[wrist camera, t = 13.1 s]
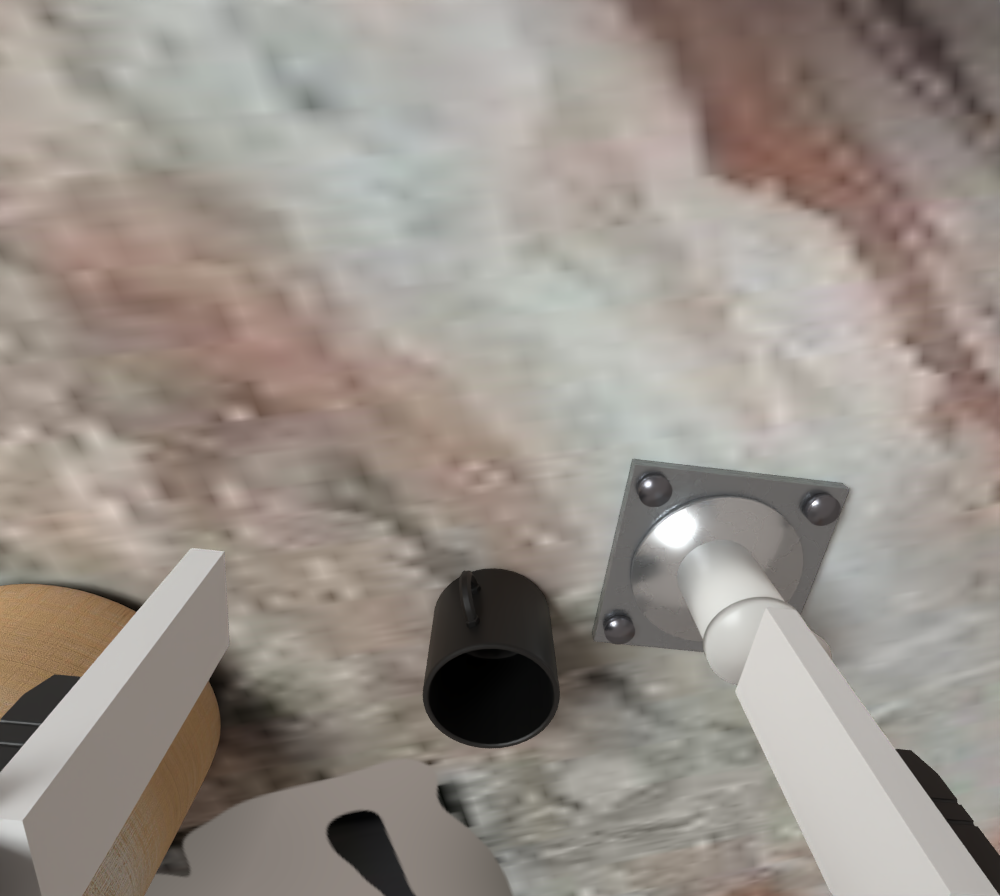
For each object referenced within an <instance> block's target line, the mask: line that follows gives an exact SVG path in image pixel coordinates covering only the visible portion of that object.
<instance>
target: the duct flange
mask: <svg viewBox="0 0 1000 896" xmlns="http://www.w3.org/2000/svg"><path fill="white" fill-rule="evenodd" d="M848 492H849V488H848V487H846V486H845V485H844V484H843V483H837V482H828V481H819V480H811V479H802V478H793V477H785V476H776V475H767V474H759V473H750V472H741V471H733V470H724V469H716V468H707V467H698V466H690V465H681V464H672V463H664V462H655V461H646V460H638V459H632V463H631V467H630V472H629V476H628V480H627V485H626V489H625V493H624V498H623V502H622V506H621V511H620V515H619V519H618V523H617V528H616V532H615V536H614V541H613V545H612V549H611V554H610V558H609V562H608V567H607V571H606V575H605V579H604V584H603V588H602V592H601V597H600V601H599V605H598V610H597V614H596V618H595V623H594V627H593V631H592V635H593V640H594V641H597V642H607V643H613V644H627V645H638V646H648V647H658V648H668V649H678V650H688V651H698V652H704V650H703V639H702V637H701V634H700V632H699V630H698V628H697V626H696V623H695V621H694V619H693V617H692V615H691V613H690V610H689V608H688V606H687V604H686V602H685V600H684V597H683V595H682V593H681V591H680V589H679V587H678V583H677V573H678V569H679V566H680V564H681V562H682V560H683V559H684V558H685V556H686V555H687V554H688V553H689V552H691V551H692V550H693V549H695V548H696V547H698V546H700V545H702V544H704V543H707V542H710V541H716V540H728V541H733V542H736V543H739V544H741V545H742V546H744V547H745V548H747V549H748V550H749V551H750V553H751V554H752V555H753V557H754V558H755V560H756V561H757V562H758V564H759V565H760V567H761V568H762V570H763V571H764V572H765V574H766V575H767V577H768V578H769V580H770V581H771V582H772V584H773V585H774V587H775V588H776V590H777V591H778V592H779V594H780V595H781V597H782V598H783V599H784V601H785V602H787V603H788V604H790V605H791V606H792V607H794V608H795V609H796V610H797V611H798V613H799V614H800V615H801V612H802V609H803V607H804V604H805V602H806V599H807V597H808V594H809V592H810V589H811V586H812V584H813V581H814V579H815V576H816V574H817V571H818V569H819V566H820V563H821V561H822V558H823V556H824V553H825V551H826V548H827V546H828V543H829V540H830V538H831V535H832V533H833V530H834V528H835V525H836V523H837V520H838V518H839V515H840V512H841V510H842V507H843V505H844V502H845V500H846V497H847V495H848Z"/></svg>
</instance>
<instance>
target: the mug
mask: <svg viewBox="0 0 1000 896" xmlns="http://www.w3.org/2000/svg"><path fill="white" fill-rule="evenodd" d="M559 699H560V691H559V683H558V675H557V667H556V659H555V651H554V643H553V636H552V628H551V620H550V612H549V607H548V604H547V601H546V599H545V597H544V596H543V594H542V592H541V591H540V590H539V589H538V588H537V587H536V586H535V585H534V584H533V583H532V582H531V581H529V580H528V579H526V578H525V577H523V576H521V575H519V574H517V573H514V572H511V571H507V570H502V569H482V570H476V571H473V572H471V571H463V572H462V574H461V576H460V577H459V578H458V579H456V580H455V581H453V582H452V583H451V584H450V585H449V586H448V587H447V588H446V589H445V590H444V591H443V592H442V594H441V595H440V597H439V599H438V601H437V603H436V607H435V611H434V618H433V625H432V632H431V639H430V645H429V652H428V659H427V666H426V673H425V680H424V687H423V702H424V706H425V710H426V713H427V714H428V716H429V718H430V720H431V721H432V722H433V724H434V725H435V726H436V727H437V728H438V729H439V730H440V731H441V732H442V733H444V734H445V735H447V736H448V737H450V738H451V739H453V740H455V741H458V742H460V743H463V744H466V745H469V746H474V747H479V748H503V747H509V746H513V745H517V744H520V743H522V742H525V741H527V740H529V739H531V738H533V737H534V736H536V735H537V734H539V733H540V732H541V731H542V730H544V729H545V727H546V726H547V725H548V724H549V723H550V722H551V720H552V719H553V717H554V715H555V713H556V711H557V708H558V704H559Z"/></svg>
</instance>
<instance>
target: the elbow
mask: <svg viewBox="0 0 1000 896" xmlns="http://www.w3.org/2000/svg"><path fill="white" fill-rule="evenodd" d="M677 583H678V587H679V589H680V591H681V593H682V595H683V597H684V600H685V602H686V604H687V606H688V608H689V610H690V613H691V615H692V617H693V619H694V621H695V623H696V626H697V628H698V630H699V632H700V634H701V637H702V639H703V650H704V654H705V656H706V658H707V661H708V663H709V665H710V667H711V669H712V670H713V671H714V672H715V674H716V675H718V676H719V677H720V678H721V679H723V680H725V681H727V682H729V683H732V684H736V685H738V683H739V680H740V677H741V674H742V672H743V669H744V666H745V663H746V661H747V658H748V655H749V652H750V650H751V647H752V644H753V641H754V639H755V636H756V633H757V630H758V628H759V625H760V622H761V619H762V617H763V614H764V611H765V608H766V607H769V608H779V609H789V610H796V609H795V608H794V607H792V606H791V605H790V604H788V603H787V602H785V601H784V599H783V598H782V597H781V595H780V594H779V592H778V591H777V590H776V588H775V587H774V585H773V584H772V582H771V581H770V580H769V578H768V577H767V575H766V574H765V572H764V571H763V570H762V568H761V567H760V565H759V564H758V562H757V561H756V560H755V558H754V557H753V555H752V554H751V553H750V551H749V550H748V549H747V548H745V547H744V546H742V545H741V544H739V543H736V542H733V541H728V540H716V541H710V542H707V543H704V544H702V545H700V546H698V547H696V548H695V549H693V550H692V551H691V552H689V553H688V554H687V555H686V556H685V558H684V559H683V560H682V562H681V564H680V566H679V569H678V573H677ZM796 611H797V610H796ZM797 612H798V611H797ZM798 614H799V613H798ZM799 615H800V614H799ZM800 617H801V615H800ZM801 618H802V617H801ZM802 619H803V618H802ZM803 621H804V620H803ZM804 622H805V621H804ZM805 624H806V623H805ZM806 625H807V624H806ZM810 631H811V630H810ZM811 632H812V633H813V635H814V636H815V638H816V639H817V640H818V642H819V643H820V645H821V646H822V647H823V649H824V650H825V652H826V653H827V654H828V656H829V657H830V659H831V660H832V654H831V650H830V647H829V645H828V644H827V642H826V641H825V640H824V639H822V638H821V637H820V636H818V635H817V634H816V633H814V632H813V631H811Z"/></svg>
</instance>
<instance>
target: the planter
mask: <svg viewBox="0 0 1000 896" xmlns="http://www.w3.org/2000/svg"><path fill="white" fill-rule="evenodd" d="M135 613H136V611H134V610H132V609H130V608H128V607H126V606H124V605H121V604H119V603H117V602H114V601H112V600H109V599H106V598H103V597H101V596H98V595H95V594H91V593H88V592H85V591H81V590H76V589H72V588H66V587H60V586H52V585H42V584H13V585H4V586H0V720H1V718H2V717H3V716H4V715H5V713H6V712H7V711H8V710H9V709H10V708H11V707H12V706H13V705H14V704H15V703H16V702H17V701H18V700H19V698H20V697H21V696H22V695H23V694H25V693H26V692H28V691H29V690H31V689H32V688H34V687H36V686H37V685H39V684H40V683H42V682H43V681H45V680H46V679H48V678H49V677H51V676H53V675H54V674H57V675H68V676H79V677H82V676H83V675H84V673H85V672H86V671H87V670H88V669H89V668H90V666H91V665H92V664H93V663H94V662H95V660H96V659H97V658H98V657H99V656H100V655H101V653H102V652H103V651H104V650H105V649H106V648H107V646H108V645H109V644H110V643H111V642H112V640H113V639H114V638H115V637H116V636H117V635H118V633H119V632H120V631H121V630H122V629H123V628H124V626H125V625H126V624H127V623H128V622H129V620H130V619H131V618H132V617H133V616H134V615H135ZM220 728H221V725H220V713H219V707H218V703H217V700H216V697H215V694H214V691H213V689H212V687H211V685H210V683H209V681H208V682H207V684H206V685H205V687H204V689H203V691H202V692H201V694H200V696H199V697H198V699H197V701H196V703H195V704H194V706H193V708H192V709H191V711H190V713H189V715H188V716H187V718H186V720H185V721H184V723H183V725H182V726H181V728H180V730H179V732H178V733H177V735H176V737H175V738H174V740H173V742H172V744H171V745H170V747H169V749H168V750H167V752H166V754H165V756H164V757H163V759H162V761H161V762H160V764H159V766H158V767H157V769H156V771H155V773H154V774H153V776H152V778H151V779H150V781H149V783H148V785H147V786H146V788H145V790H144V791H143V793H142V795H141V796H140V798H139V800H138V802H137V803H136V805H135V807H134V808H133V810H132V812H131V814H130V815H129V817H128V819H127V820H126V822H125V824H124V826H123V827H122V829H121V831H120V832H119V834H118V836H117V837H116V839H115V841H114V843H113V844H112V846H111V848H110V849H109V851H108V853H107V855H106V856H105V858H104V860H103V861H102V863H101V865H100V866H99V868H98V870H97V872H96V873H95V875H94V877H93V878H92V880H91V882H90V884H89V885H88V887H87V889H86V890H85V892H84V894H83V896H144V895H145V893H146V891H147V889H148V887H149V886H150V884H151V882H152V880H153V878H154V876H155V874H156V872H157V870H158V868H159V866H160V864H161V862H162V860H163V859H164V857H165V855H166V853H167V851H168V849H169V847H170V845H171V843H172V841H173V839H174V837H175V835H176V834H177V832H178V830H179V828H180V826H181V824H182V822H183V820H184V818H185V816H186V814H187V812H188V810H189V808H190V806H191V805H192V803H193V801H194V799H195V797H196V795H197V793H198V791H199V789H200V787H201V785H202V783H203V781H204V779H205V777H206V775H207V773H208V771H209V768H210V766H211V764H212V761H213V759H214V756H215V753H216V750H217V747H218V743H219V739H220Z"/></svg>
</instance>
